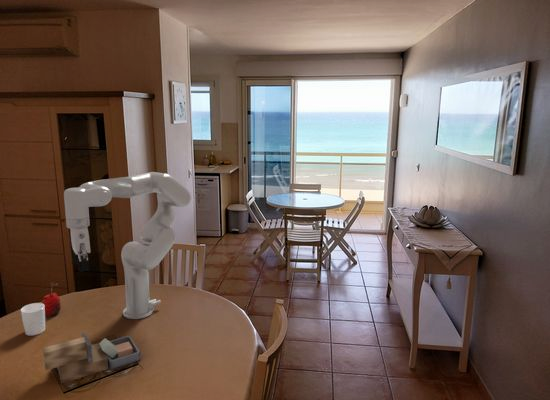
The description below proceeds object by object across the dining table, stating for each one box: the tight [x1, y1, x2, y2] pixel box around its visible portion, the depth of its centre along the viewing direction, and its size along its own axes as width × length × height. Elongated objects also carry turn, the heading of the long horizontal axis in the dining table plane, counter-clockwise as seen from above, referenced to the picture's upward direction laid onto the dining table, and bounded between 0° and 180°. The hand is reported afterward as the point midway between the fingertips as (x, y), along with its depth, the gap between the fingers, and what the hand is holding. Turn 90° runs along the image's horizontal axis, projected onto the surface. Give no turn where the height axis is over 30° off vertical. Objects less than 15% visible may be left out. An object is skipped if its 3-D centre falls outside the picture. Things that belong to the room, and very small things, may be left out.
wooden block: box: [56, 342, 109, 384], centre depth 134 cm, size 14×11×4 cm
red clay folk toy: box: [41, 281, 62, 317], centre depth 167 cm, size 8×7×15 cm
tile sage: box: [98, 338, 118, 358], centre depth 138 cm, size 5×5×2 cm
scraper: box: [42, 332, 93, 371], centre depth 130 cm, size 13×9×6 cm
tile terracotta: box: [115, 342, 133, 358], centre depth 142 cm, size 5×5×2 cm
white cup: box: [20, 302, 46, 337], centre depth 154 cm, size 8×8×10 cm
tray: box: [105, 335, 141, 371], centre depth 141 cm, size 10×13×3 cm
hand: (81, 266), depth 147 cm, fingers open, 9 cm apart
